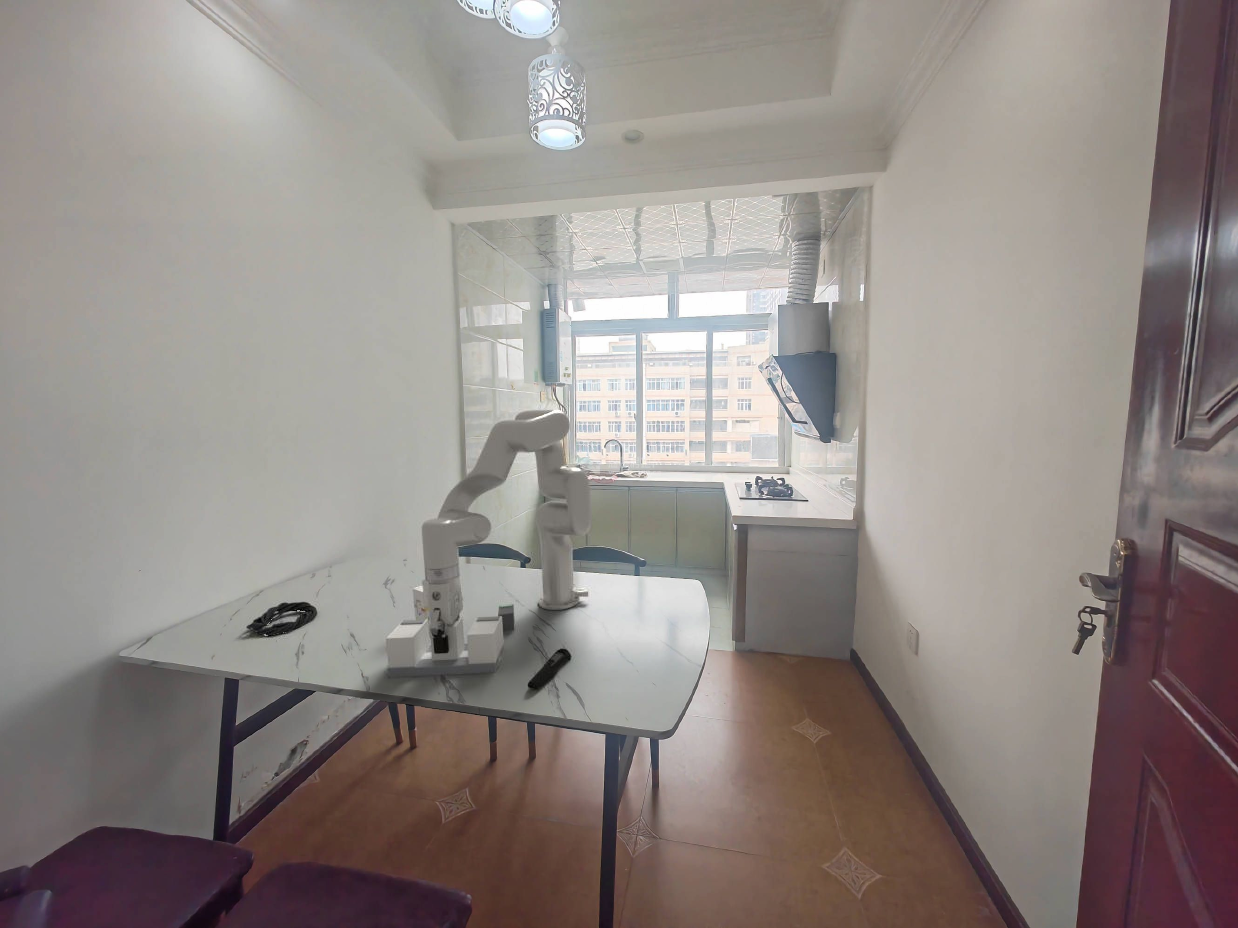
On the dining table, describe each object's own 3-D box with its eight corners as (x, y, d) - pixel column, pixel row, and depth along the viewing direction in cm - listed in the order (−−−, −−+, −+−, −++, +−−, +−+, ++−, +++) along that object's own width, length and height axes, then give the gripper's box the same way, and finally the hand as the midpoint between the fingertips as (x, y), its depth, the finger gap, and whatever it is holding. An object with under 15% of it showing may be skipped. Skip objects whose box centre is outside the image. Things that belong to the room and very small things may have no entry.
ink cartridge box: (441, 616, 135) (438, 568, 133) (452, 620, 132) (449, 571, 130) (415, 628, 127) (411, 577, 126) (426, 633, 125) (422, 580, 123)
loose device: (514, 620, 131) (513, 603, 130) (514, 630, 125) (513, 611, 124) (500, 622, 130) (498, 604, 129) (499, 632, 124) (498, 613, 124)
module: (464, 648, 112) (462, 615, 111) (458, 659, 107) (455, 625, 106) (439, 649, 111) (437, 616, 111) (432, 660, 107) (429, 626, 106)
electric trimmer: (522, 693, 97) (522, 679, 97) (559, 656, 111) (558, 643, 111) (538, 697, 96) (537, 683, 95) (572, 658, 110) (572, 646, 110)
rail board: (504, 649, 115) (502, 614, 114) (495, 672, 105) (492, 633, 104) (406, 654, 114) (403, 618, 113) (388, 677, 104) (384, 638, 103)
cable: (294, 609, 144) (293, 596, 143) (333, 611, 141) (331, 598, 141) (240, 635, 127) (238, 620, 127) (283, 638, 124) (281, 623, 124)
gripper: (446, 585, 98) (452, 662, 100) (469, 559, 115) (474, 626, 117) (410, 586, 98) (417, 664, 100) (439, 560, 115) (444, 627, 117)
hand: (447, 643), depth 109 cm, fingers open, 7 cm apart
